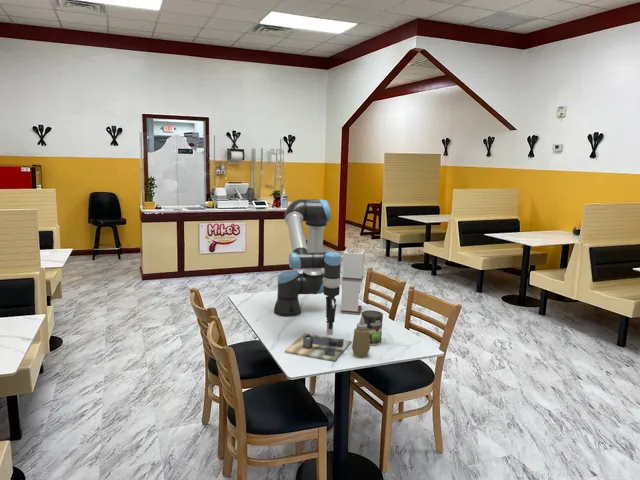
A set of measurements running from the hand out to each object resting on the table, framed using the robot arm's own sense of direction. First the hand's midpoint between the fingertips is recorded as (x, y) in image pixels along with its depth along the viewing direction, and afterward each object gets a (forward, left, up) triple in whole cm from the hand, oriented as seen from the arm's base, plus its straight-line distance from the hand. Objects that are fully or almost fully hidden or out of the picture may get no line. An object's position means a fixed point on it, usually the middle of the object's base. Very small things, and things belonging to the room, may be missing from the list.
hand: (329, 334), depth 232 cm
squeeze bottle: (+17, -5, -6) cm, 18 cm away
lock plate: (-3, -5, -5) cm, 8 cm away
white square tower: (-5, +53, -6) cm, 54 cm away
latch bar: (0, -8, -4) cm, 9 cm away
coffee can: (+17, +13, -6) cm, 22 cm away
